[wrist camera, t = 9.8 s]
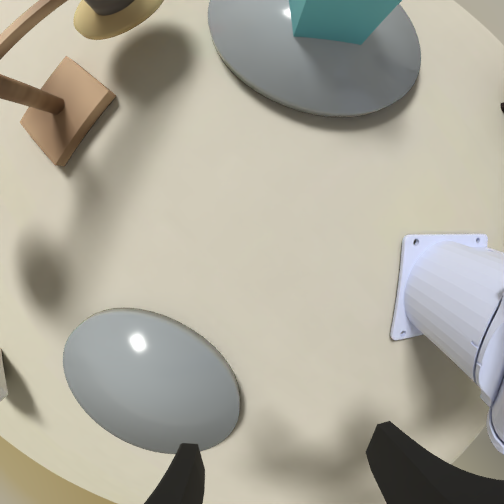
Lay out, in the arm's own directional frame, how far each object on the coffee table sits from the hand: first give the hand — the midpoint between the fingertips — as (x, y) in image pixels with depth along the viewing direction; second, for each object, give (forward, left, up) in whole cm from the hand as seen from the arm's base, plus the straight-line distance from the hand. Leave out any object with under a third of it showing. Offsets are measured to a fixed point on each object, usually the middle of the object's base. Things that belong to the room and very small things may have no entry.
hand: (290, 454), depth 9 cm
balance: (+14, -17, -10) cm, 24 cm away
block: (-4, -22, -9) cm, 24 cm away
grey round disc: (+10, +5, -10) cm, 15 cm away
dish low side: (-4, -22, -10) cm, 24 cm away
